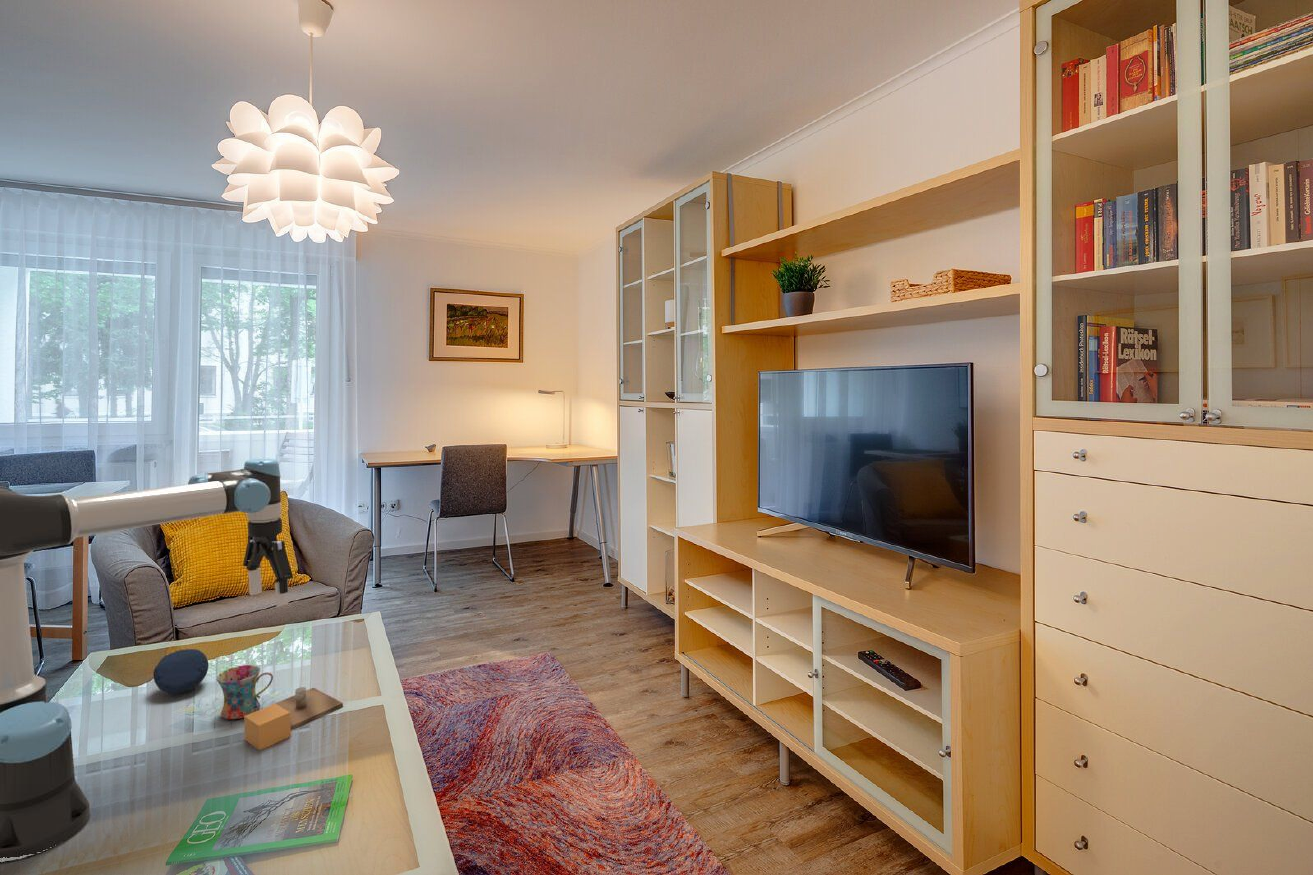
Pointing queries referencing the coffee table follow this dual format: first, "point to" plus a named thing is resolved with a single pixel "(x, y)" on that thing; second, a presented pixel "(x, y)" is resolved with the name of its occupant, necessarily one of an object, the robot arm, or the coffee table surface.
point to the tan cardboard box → (267, 726)
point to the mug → (240, 690)
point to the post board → (308, 706)
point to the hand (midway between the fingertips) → (268, 599)
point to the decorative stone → (181, 671)
